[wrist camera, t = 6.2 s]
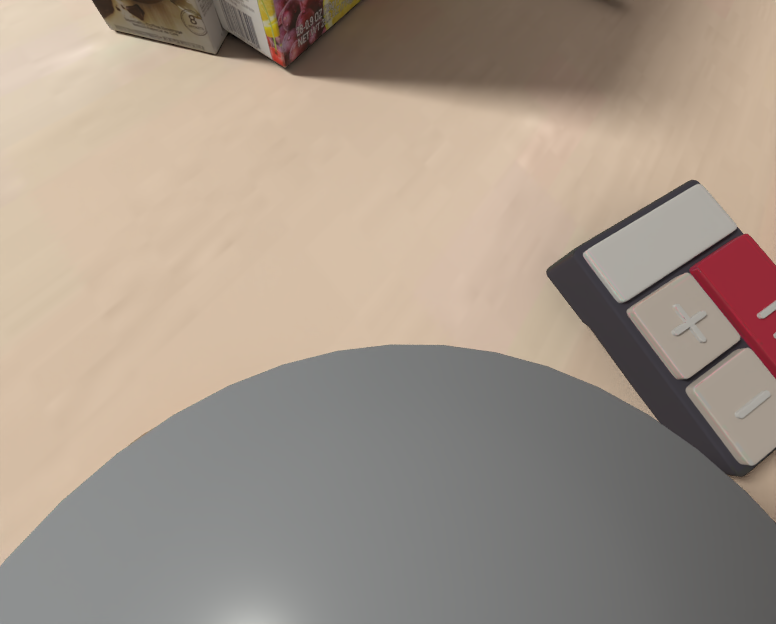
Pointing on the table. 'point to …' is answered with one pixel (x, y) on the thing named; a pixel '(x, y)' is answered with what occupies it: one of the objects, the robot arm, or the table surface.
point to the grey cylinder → (401, 508)
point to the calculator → (686, 321)
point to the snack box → (280, 23)
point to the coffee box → (167, 21)
